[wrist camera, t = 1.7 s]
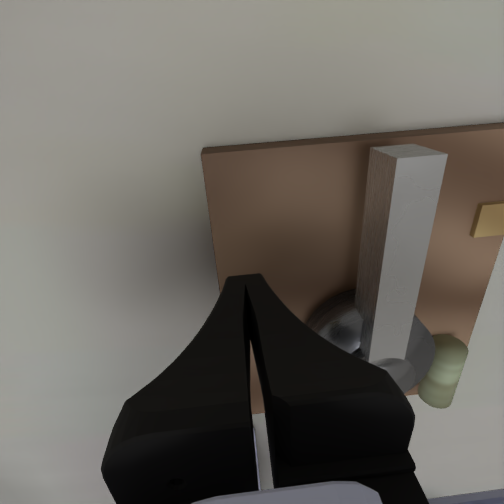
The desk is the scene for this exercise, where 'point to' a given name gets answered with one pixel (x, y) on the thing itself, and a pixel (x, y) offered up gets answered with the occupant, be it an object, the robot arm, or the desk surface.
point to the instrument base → (359, 229)
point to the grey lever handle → (390, 267)
